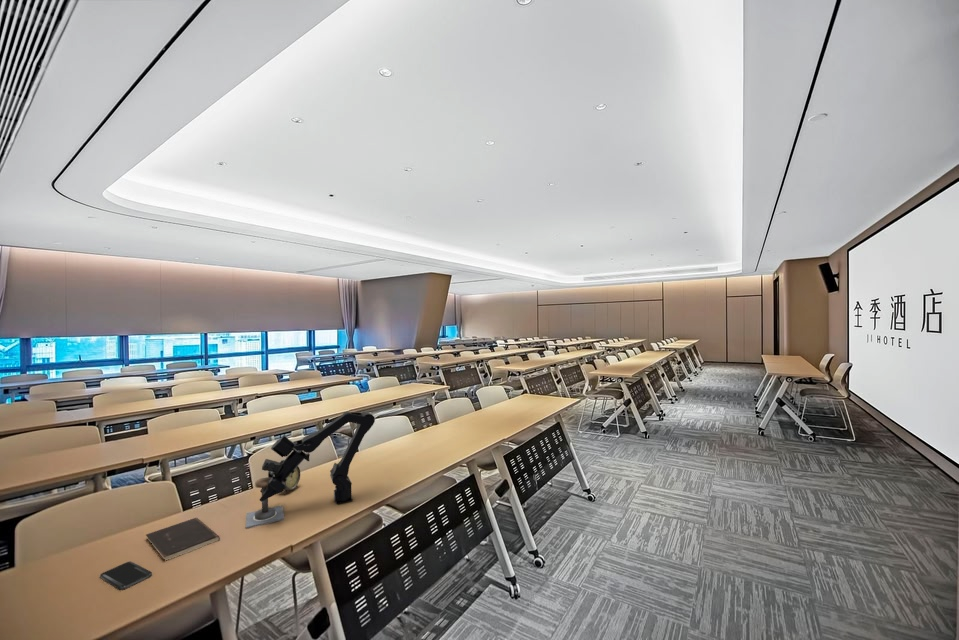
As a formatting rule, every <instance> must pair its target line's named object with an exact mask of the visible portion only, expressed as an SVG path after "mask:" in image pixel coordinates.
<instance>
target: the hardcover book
mask: <svg viewBox="0 0 959 640" xmlns="http://www.w3.org/2000/svg"><path fill="white" fill-rule="evenodd" d="M145 536H146V537H147V540H148V541H149V542H150V544H151V543H152V544H151V545H152V547H154V548H155V550H156V551H157V552H158V553H160V554H159V555H160V556H161V558H162V559H163V560H164V559H165V560H164V561H165V562H167V561H169V560H168V559H170V560H172V559H175V558H177V557H180V556H182V555H185V554H187V553H190V552H193V551H195V550H197V549H200V548H203V547H206V546H207V544H208V545H211V544H212V542H213V543H215V541H216V542H218V541H220V540H221V536H220V535H218V534H217V533H216V532H215V531H214V530H212V528H210V527H209V526H208V525H207V524H205V523H204V522H203V521H202V520H201V519H200V518H198V517H193V518H191V519H188V520H185V521H182V522H179V523H175V524H173V525H170V526H168V527H164V528H162V529H158V530H155V531H153V532H149V533H146V534H145ZM217 540H218V541H217ZM210 543H211V544H210ZM179 555H180V556H179ZM174 557H175V558H174ZM171 558H172V559H171ZM166 560H167V561H166Z"/></svg>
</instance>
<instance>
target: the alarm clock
mask: <svg viewBox="0 0 959 640" xmlns="http://www.w3.org/2000/svg"><path fill="white" fill-rule="evenodd" d="M288 456H289V455H288ZM288 456H286V457H285V459H286V458H287V457H288ZM300 479H301V469H300V467H299V465H298V466H297V468H296V469H295V472H294V473H291V474H290V475H289V476H288V478H287V480H286V482H285V490H284V491H283V492H284V493H283V495H284V496H285V495H286V493H287V491H288V490H289V491H293V490H294V489H295V488H297V487H298V485H299V482H300ZM282 481H283V480H282Z"/></svg>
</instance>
